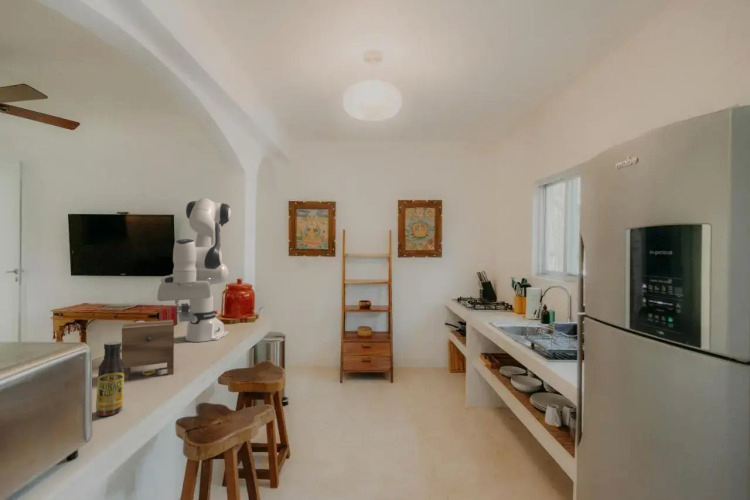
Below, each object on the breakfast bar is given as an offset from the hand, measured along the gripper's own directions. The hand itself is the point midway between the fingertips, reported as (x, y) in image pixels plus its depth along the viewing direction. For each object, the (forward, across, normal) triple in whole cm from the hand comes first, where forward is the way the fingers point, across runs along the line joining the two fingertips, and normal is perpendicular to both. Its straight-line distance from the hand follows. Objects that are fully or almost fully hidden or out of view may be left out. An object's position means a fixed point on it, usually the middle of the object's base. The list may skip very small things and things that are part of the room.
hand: (184, 310), depth 158 cm
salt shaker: (+21, +17, -23) cm, 36 cm away
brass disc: (+20, +13, +16) cm, 29 cm away
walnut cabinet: (+20, +13, +16) cm, 28 cm away
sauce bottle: (+19, +21, +48) cm, 56 cm away
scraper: (+2, 0, +6) cm, 7 cm away
